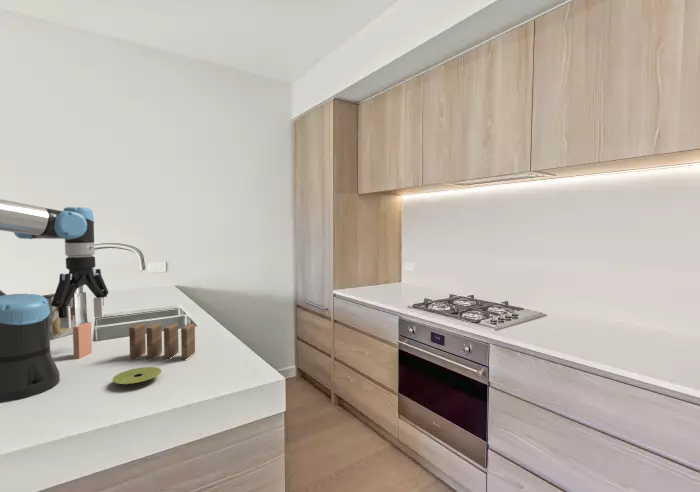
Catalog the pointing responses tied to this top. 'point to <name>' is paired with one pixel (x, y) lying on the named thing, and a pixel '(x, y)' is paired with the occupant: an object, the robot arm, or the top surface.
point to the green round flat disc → (136, 375)
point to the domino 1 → (82, 340)
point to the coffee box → (55, 320)
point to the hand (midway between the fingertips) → (83, 322)
